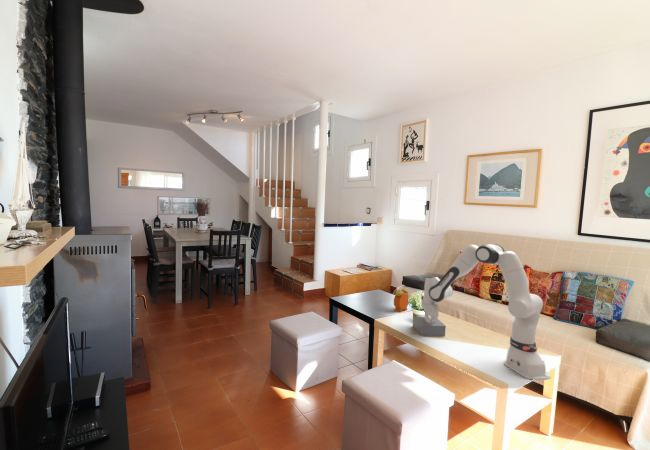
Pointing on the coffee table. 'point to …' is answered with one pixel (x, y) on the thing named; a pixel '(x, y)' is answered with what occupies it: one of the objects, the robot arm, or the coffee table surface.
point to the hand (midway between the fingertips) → (429, 319)
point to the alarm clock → (401, 300)
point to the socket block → (429, 327)
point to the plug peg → (427, 319)
